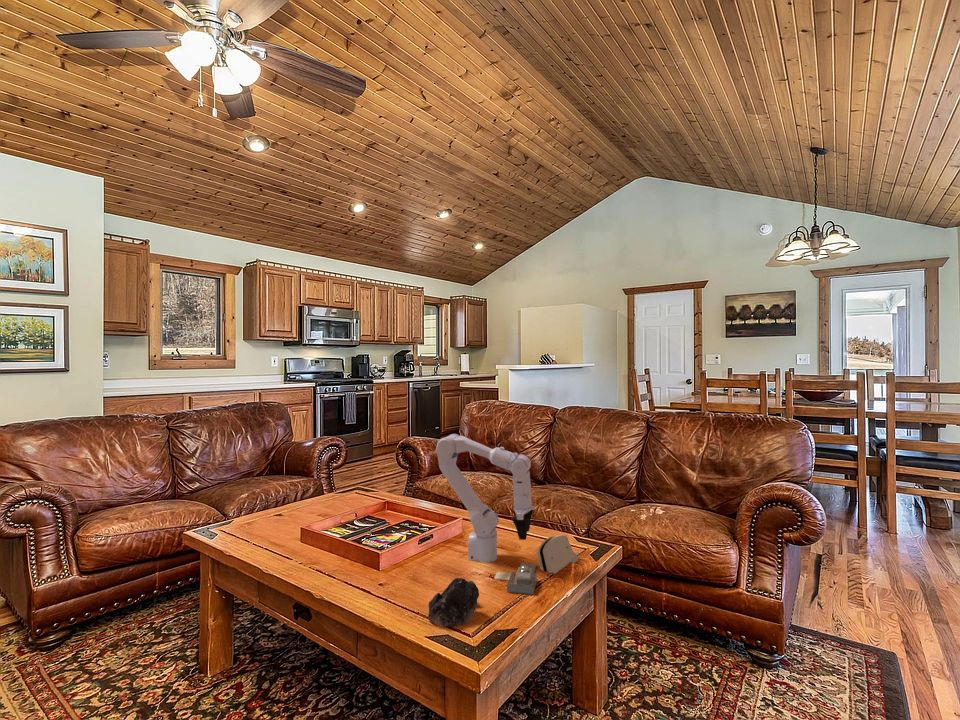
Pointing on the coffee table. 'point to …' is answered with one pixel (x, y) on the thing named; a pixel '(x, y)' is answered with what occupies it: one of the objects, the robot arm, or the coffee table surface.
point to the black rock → (454, 603)
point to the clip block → (524, 575)
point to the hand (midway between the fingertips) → (524, 535)
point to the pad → (503, 575)
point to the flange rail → (522, 589)
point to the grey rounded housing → (555, 554)
